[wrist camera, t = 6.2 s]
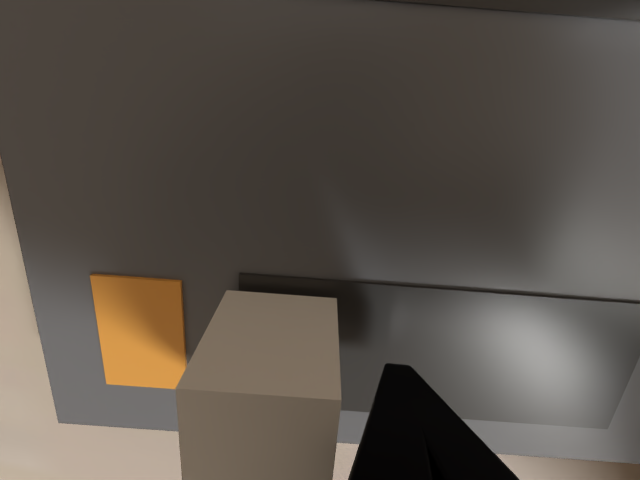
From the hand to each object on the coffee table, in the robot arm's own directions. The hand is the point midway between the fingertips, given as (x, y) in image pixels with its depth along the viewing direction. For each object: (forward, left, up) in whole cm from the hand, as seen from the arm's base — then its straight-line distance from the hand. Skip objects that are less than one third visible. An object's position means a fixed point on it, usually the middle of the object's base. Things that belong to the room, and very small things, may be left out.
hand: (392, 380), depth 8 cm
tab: (0, +2, -1) cm, 3 cm away
